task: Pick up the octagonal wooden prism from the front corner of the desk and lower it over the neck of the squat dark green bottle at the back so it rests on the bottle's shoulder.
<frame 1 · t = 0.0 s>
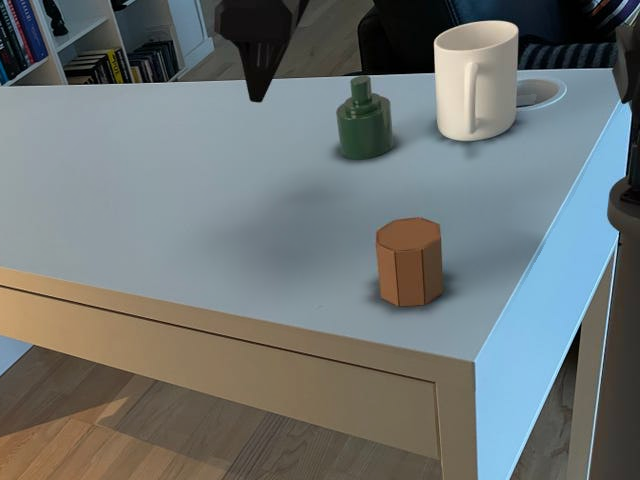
hand: (266, 81, 72), 16 cm above the table, tool pointing down, fingers open, 9 cm apart
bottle: (366, 147, 90), on the table
cup: (474, 134, 86), on the table
octagonal wooden prism: (411, 288, 68), on the table
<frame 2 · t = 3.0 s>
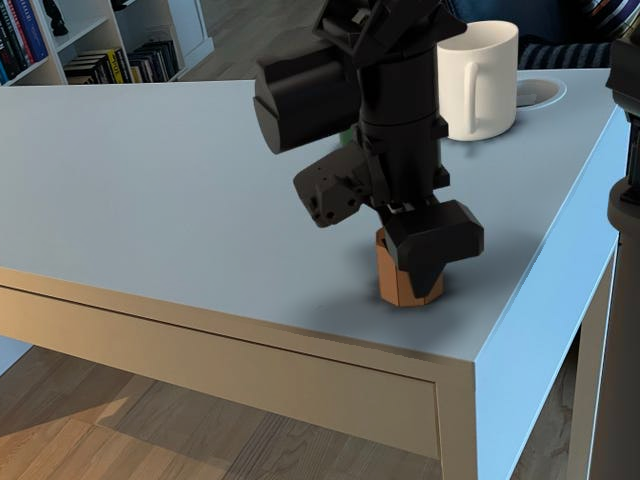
hand: (410, 278, 67), 1 cm above the table, tool pointing down, fingers closed on octagonal wooden prism, 5 cm apart
octagonal wooden prism: (411, 288, 68), on the table, touching gripper
everything else where it was.
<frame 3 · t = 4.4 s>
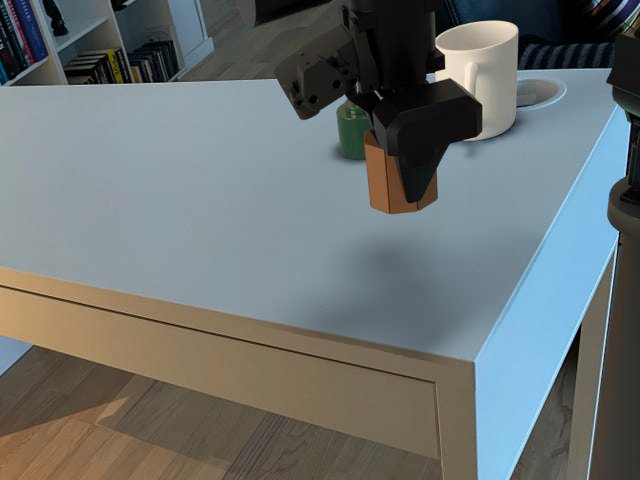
hand: (402, 185, 62), 10 cm above the table, tool pointing down, fingers closed on octagonal wooden prism, 5 cm apart
octagonal wooden prism: (403, 196, 62), point 9 cm above the table, touching gripper
everything else where it was.
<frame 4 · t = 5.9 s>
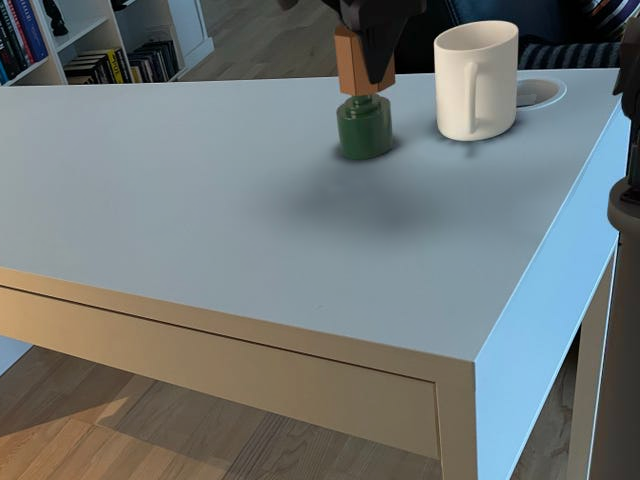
hand: (367, 73, 75), 13 cm above the table, tool pointing down, fingers closed on octagonal wooden prism, 5 cm apart
octagonal wooden prism: (367, 84, 75), point 12 cm above the table, touching gripper
everything else where it was.
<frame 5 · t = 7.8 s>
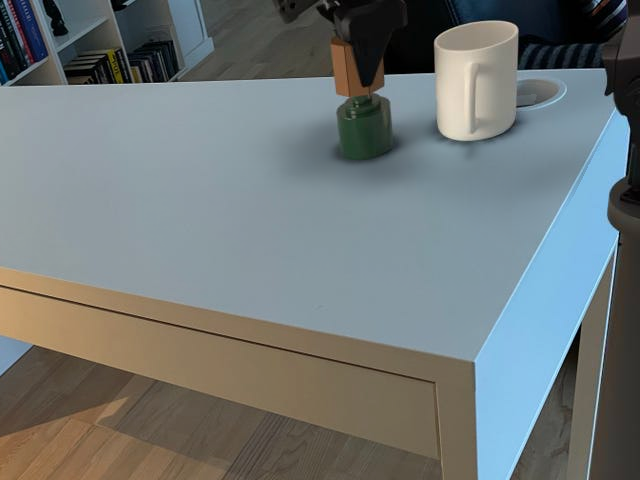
hand: (360, 77, 85), 8 cm above the table, tool pointing down, fingers closed on octagonal wooden prism, 5 cm apart
octagonal wooden prism: (360, 86, 86), point 7 cm above the table, touching gripper
everything else where it was.
when the fingers open (6 cm above the table, at t = 9.1 s): octagonal wooden prism stays where it is, resting on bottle.
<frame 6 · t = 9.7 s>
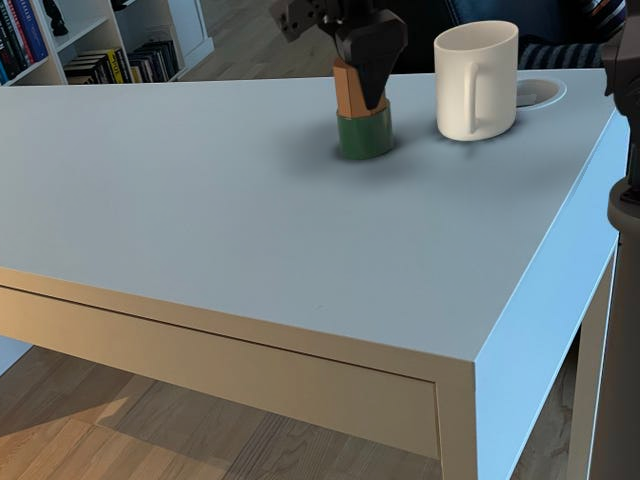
hand: (361, 94, 86), 6 cm above the table, tool pointing down, fingers open, 9 cm apart
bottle: (366, 147, 90), on the table, touching octagonal wooden prism
octagonal wooden prism: (362, 107, 87), point 5 cm above the table, touching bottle
everything else where it was.
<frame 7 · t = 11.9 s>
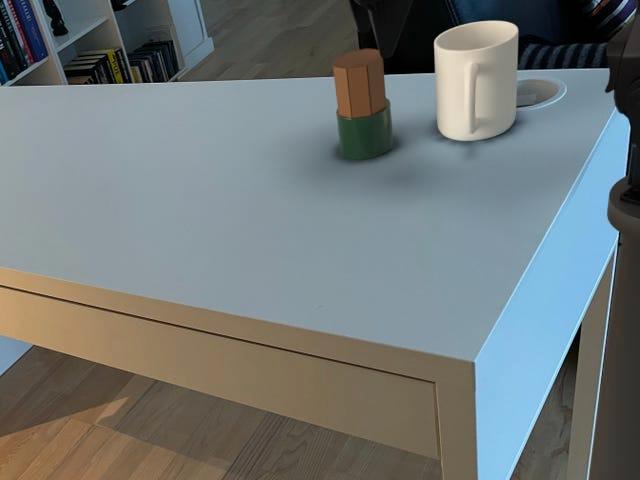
hand: (374, 44, 80), 13 cm above the table, tool pointing down, fingers open, 9 cm apart
nothing on the table moved.
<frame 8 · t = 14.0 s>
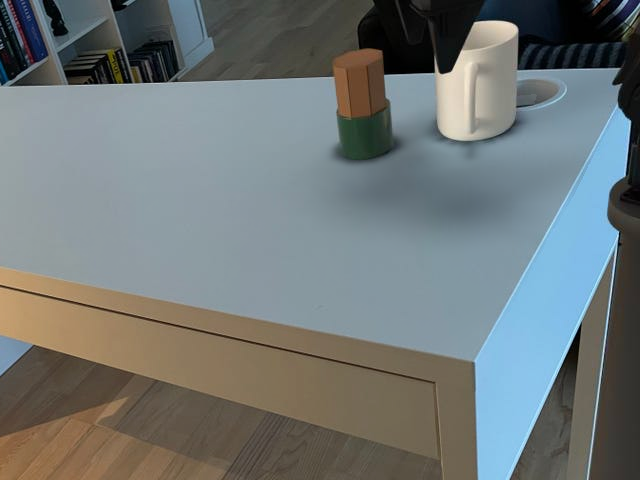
hand: (429, 57, 73), 13 cm above the table, tool pointing down, fingers open, 9 cm apart
nothing on the table moved.
at the end: octagonal wooden prism 0.1 cm off-centre on the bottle, point 5.0 cm above the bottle's base; octagonal wooden prism tilted 0°; the gripper is holding nothing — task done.
